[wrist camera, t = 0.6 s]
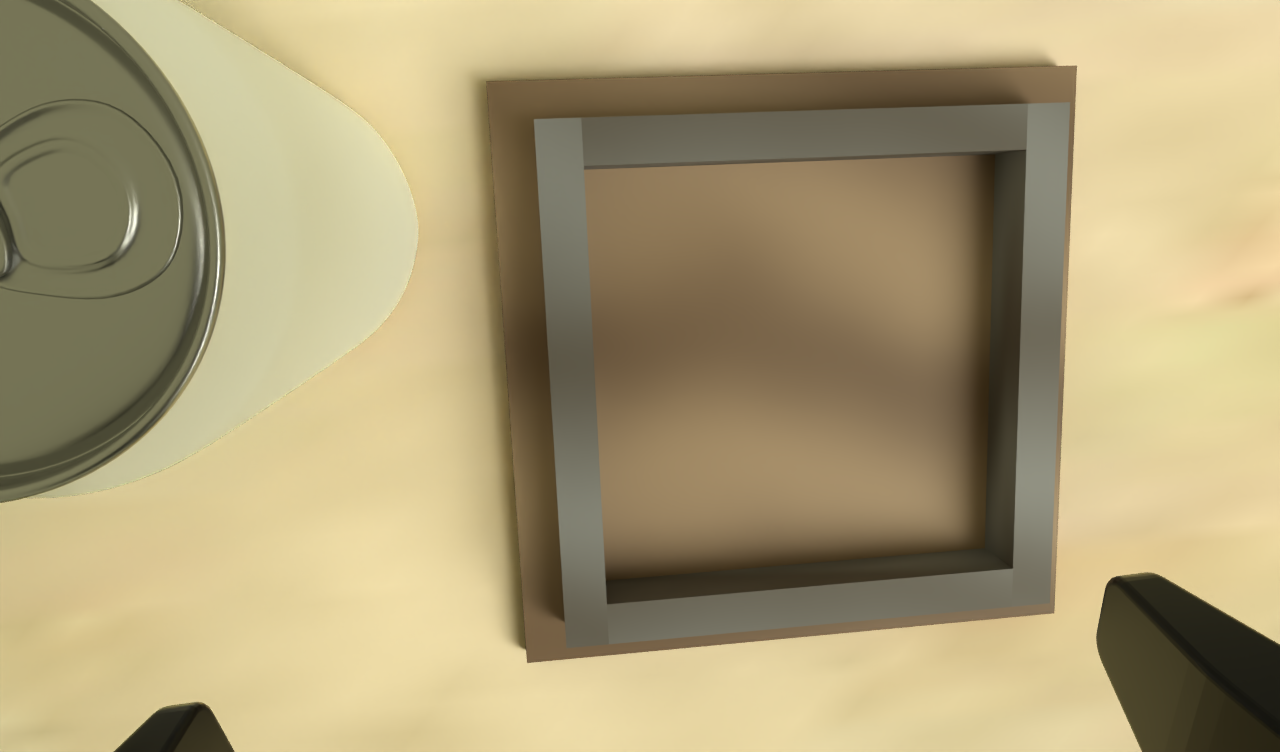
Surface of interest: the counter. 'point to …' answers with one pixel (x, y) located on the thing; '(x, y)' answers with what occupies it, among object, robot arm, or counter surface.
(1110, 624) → the robot arm
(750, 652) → the counter surface
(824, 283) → the holder
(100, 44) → the can
